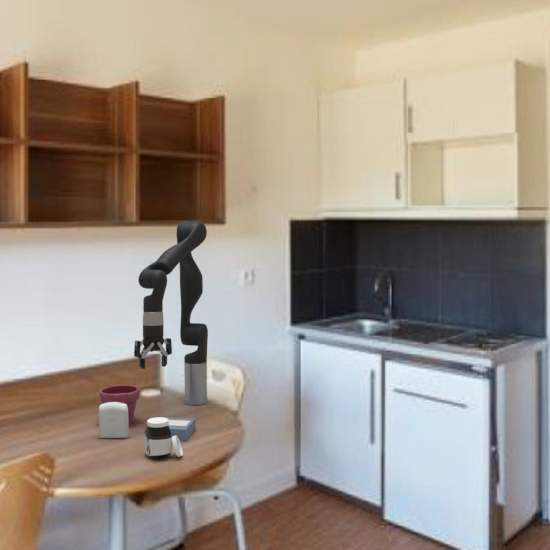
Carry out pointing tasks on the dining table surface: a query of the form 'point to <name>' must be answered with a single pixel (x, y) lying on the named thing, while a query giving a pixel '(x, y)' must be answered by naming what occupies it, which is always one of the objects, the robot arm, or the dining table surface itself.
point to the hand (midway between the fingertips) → (153, 367)
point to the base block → (182, 427)
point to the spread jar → (160, 439)
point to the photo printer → (113, 420)
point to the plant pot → (121, 397)
